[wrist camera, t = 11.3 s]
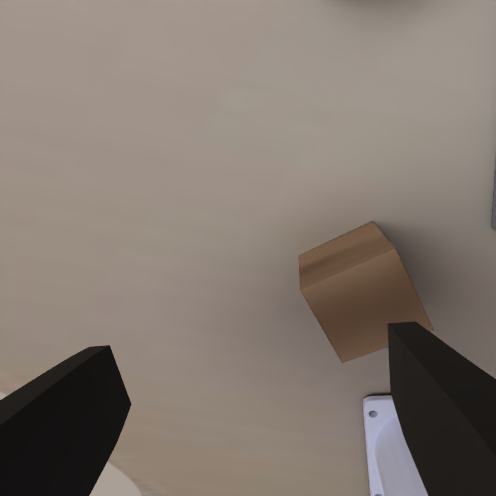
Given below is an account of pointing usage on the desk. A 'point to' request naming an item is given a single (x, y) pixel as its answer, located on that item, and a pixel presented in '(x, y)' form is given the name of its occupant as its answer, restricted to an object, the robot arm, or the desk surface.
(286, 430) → the desk surface
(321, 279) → the walnut cube
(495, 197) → the mat
